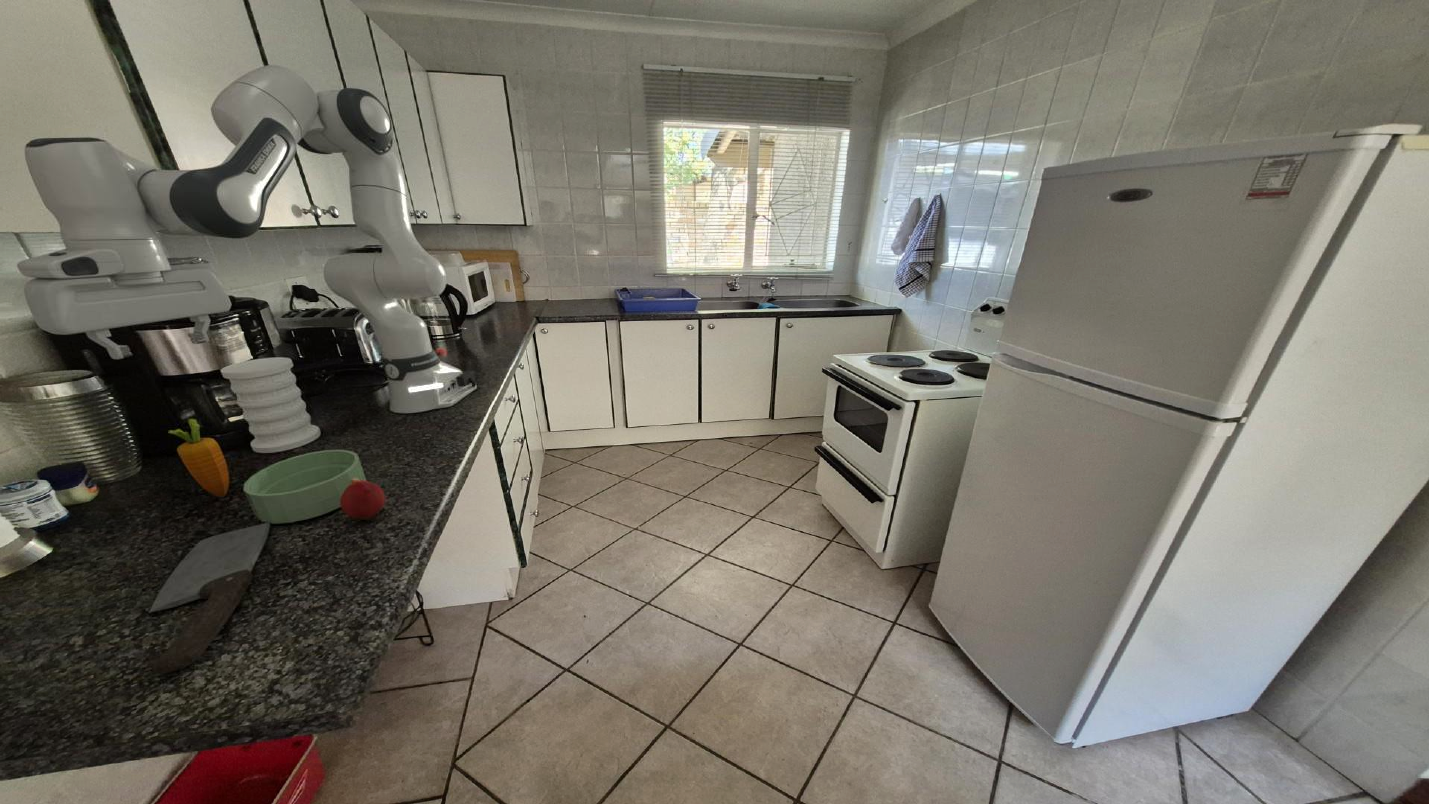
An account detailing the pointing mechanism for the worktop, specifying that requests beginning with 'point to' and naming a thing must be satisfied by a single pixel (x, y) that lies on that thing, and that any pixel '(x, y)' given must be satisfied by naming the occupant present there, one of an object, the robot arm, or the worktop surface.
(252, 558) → the cleaver
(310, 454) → the bowl
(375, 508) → the onion
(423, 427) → the worktop surface
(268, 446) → the decorative container
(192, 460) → the carrot
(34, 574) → the worktop surface
